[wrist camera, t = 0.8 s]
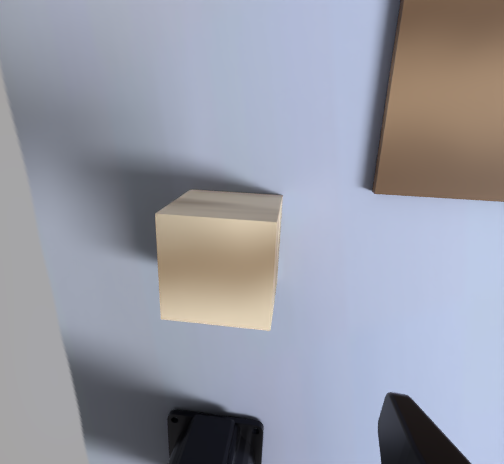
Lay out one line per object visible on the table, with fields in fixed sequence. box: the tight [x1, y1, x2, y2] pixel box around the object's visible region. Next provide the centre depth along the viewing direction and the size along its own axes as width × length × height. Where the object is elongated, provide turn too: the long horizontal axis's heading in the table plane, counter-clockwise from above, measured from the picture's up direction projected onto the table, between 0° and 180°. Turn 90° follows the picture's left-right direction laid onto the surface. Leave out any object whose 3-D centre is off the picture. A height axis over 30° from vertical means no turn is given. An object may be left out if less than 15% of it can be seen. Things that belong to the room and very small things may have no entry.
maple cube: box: [155, 189, 283, 331], centre depth 17 cm, size 5×5×5 cm
